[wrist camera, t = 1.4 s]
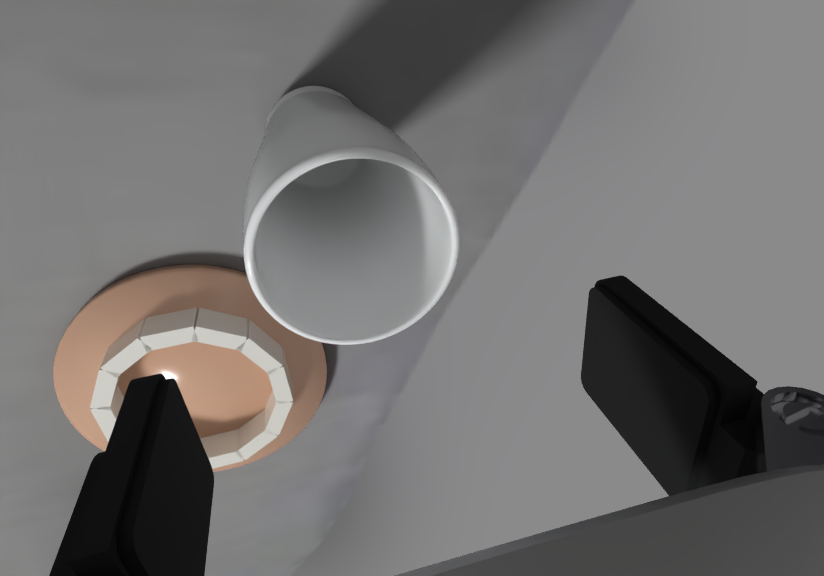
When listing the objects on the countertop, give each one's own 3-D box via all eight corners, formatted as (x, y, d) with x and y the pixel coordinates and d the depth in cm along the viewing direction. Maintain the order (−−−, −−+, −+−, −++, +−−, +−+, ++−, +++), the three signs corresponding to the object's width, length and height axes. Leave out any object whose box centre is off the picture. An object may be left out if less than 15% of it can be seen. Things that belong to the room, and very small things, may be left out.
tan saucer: (7, 295, 29) (-18, 325, 26) (300, 241, 31) (303, 264, 29) (118, 485, 37) (107, 522, 34) (342, 430, 40) (347, 461, 37)
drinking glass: (390, 87, 28) (494, 173, 16) (361, 205, 31) (428, 357, 18) (260, 52, 26) (259, 119, 13) (241, 182, 29) (226, 338, 16)
